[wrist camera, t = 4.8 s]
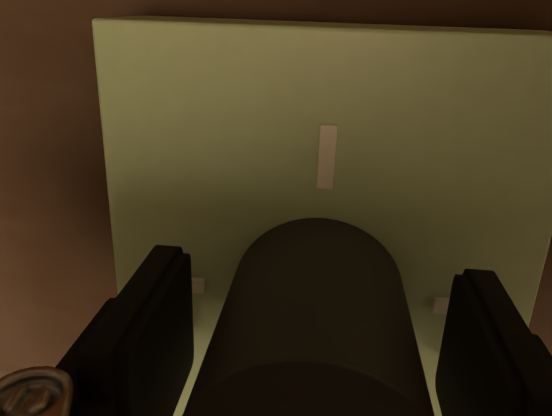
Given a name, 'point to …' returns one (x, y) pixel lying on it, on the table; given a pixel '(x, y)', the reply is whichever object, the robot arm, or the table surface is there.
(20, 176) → the table surface
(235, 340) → the dial
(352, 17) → the table surface
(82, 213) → the table surface
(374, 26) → the dial panel
